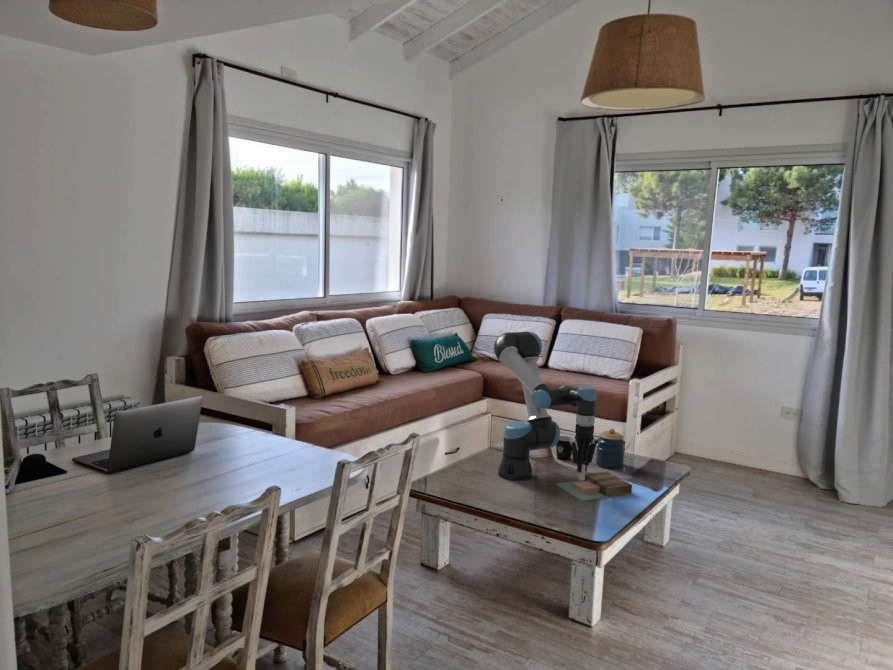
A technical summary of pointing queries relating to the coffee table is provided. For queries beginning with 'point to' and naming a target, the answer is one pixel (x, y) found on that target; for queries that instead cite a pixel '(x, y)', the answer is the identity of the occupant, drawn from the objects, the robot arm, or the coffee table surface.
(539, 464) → the coffee table surface
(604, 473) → the block
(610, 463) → the canister
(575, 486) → the terracotta tile
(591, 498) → the sage mat
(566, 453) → the coffee mug
